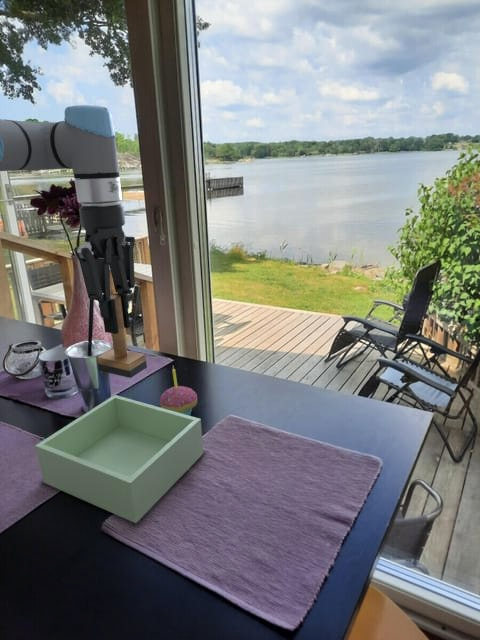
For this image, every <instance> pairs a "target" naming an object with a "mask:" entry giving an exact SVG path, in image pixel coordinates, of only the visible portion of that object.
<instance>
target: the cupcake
mask: <svg viewBox="0 0 480 640" xmlns="http://www.w3.org/2000/svg"><path fill="white" fill-rule="evenodd" d="M172 378H173V385H174V386H172V387H170V388H167V389H165V390H164V392H162V394H160V396H159V407H160V408H164V409H167V410H171V411H174V412H178V413H181V414H185V415H189V416H191V414H192V410H193V408H195V407H196V406H197V404H198V394H197V392H196V391H194V389H192V388H191V387H189V386H184V385H178V380H177V372H176V369H175V366H174V365H172Z"/></svg>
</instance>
